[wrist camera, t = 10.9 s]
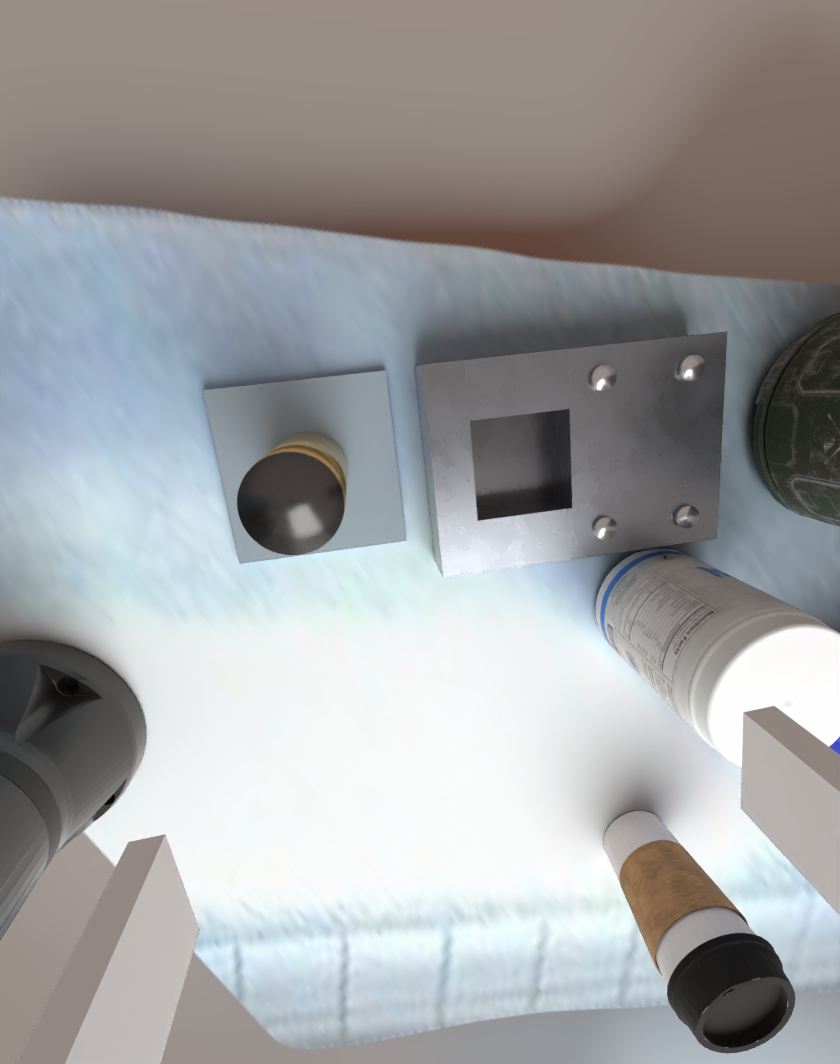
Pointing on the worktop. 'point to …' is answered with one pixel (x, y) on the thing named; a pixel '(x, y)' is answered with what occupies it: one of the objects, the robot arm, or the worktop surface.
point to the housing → (572, 451)
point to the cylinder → (295, 494)
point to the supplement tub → (719, 647)
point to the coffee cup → (698, 940)
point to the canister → (803, 425)
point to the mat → (323, 407)
